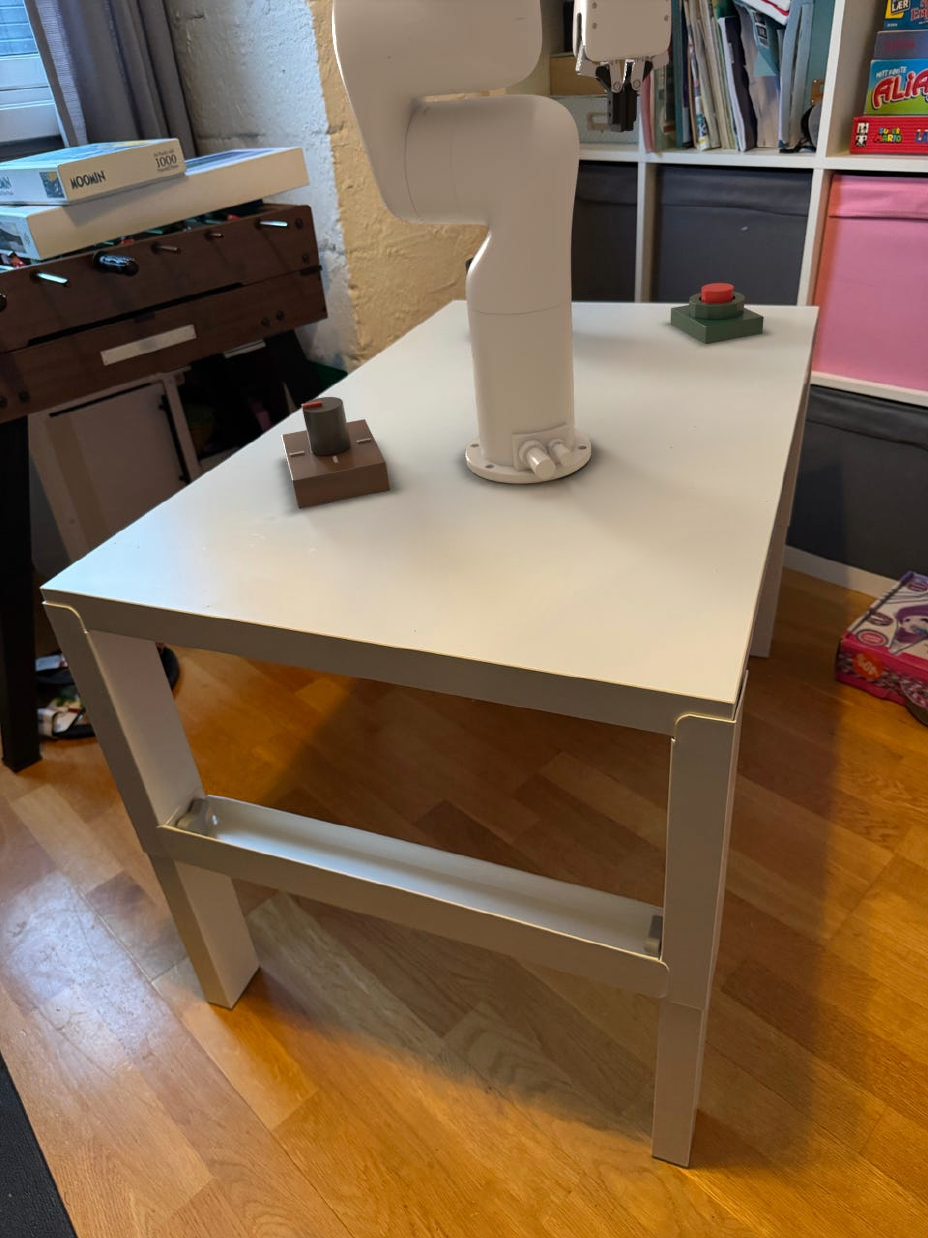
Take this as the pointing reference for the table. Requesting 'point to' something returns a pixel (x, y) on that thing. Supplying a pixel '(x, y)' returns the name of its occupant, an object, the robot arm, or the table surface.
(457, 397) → the table surface
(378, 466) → the control panel
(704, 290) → the button
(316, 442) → the dial
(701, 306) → the button housing
